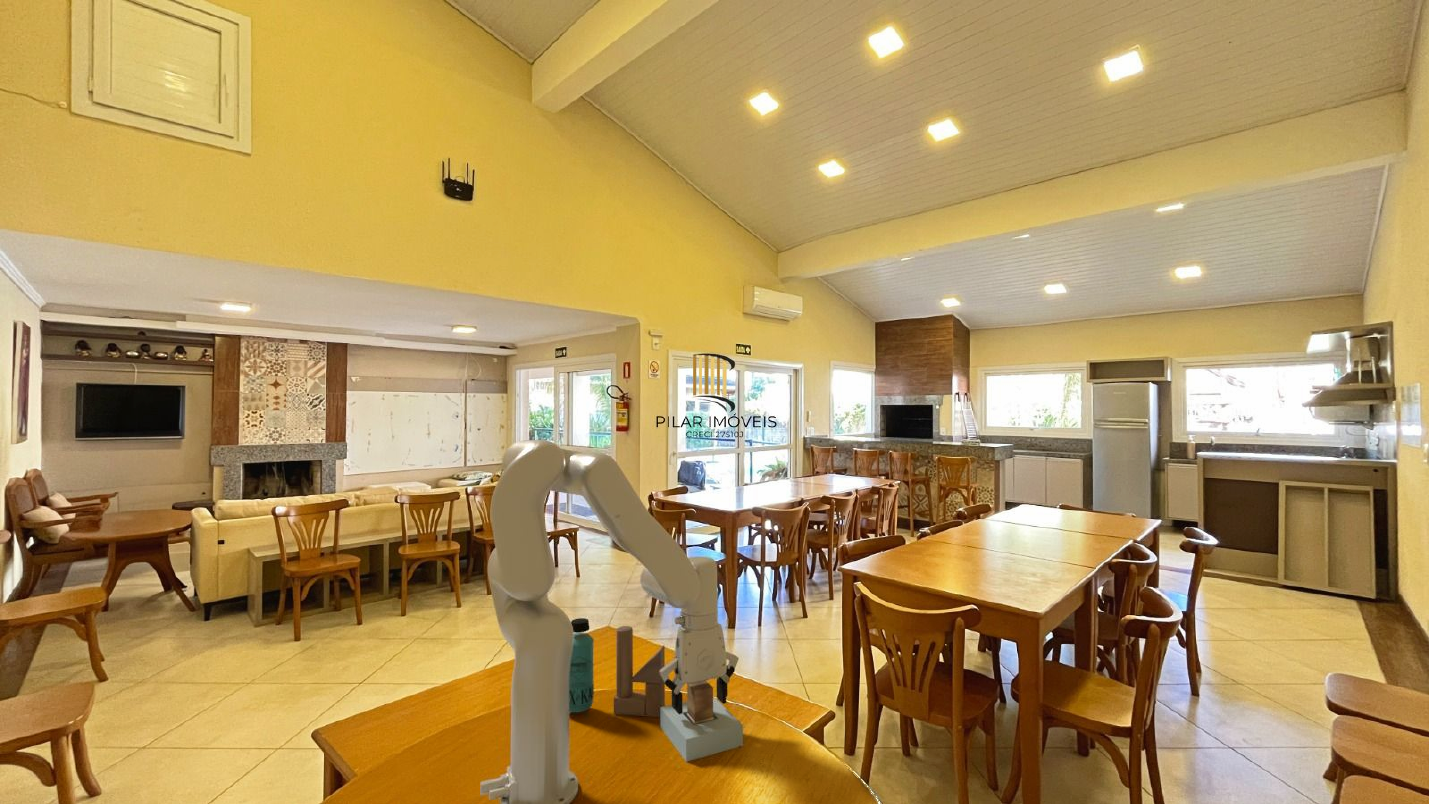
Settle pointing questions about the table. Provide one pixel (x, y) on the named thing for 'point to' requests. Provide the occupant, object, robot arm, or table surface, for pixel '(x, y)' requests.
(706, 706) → the peg
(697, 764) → the table surface
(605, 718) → the table surface
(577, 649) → the beverage bottle
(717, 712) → the grey square-hole block
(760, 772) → the table surface
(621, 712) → the wooden block structure
